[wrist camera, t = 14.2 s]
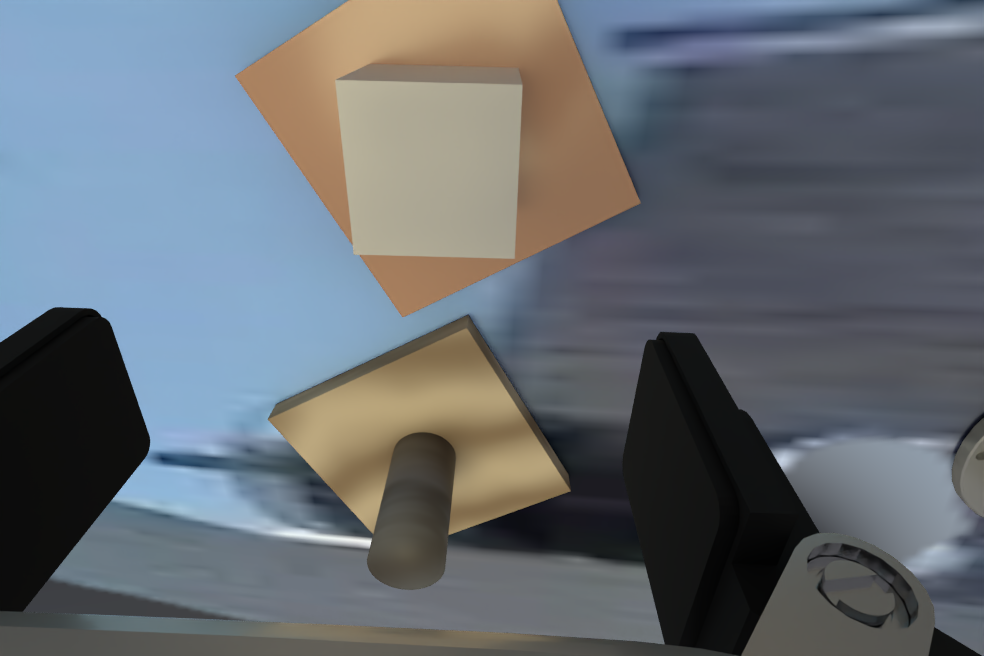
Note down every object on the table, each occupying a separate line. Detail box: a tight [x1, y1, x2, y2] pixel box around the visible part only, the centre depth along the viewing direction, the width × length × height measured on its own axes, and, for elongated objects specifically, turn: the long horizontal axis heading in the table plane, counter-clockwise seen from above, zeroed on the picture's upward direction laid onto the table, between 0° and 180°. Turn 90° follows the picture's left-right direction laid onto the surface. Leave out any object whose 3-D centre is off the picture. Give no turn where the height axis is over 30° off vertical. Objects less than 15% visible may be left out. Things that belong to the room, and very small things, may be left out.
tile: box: [235, 0, 640, 317], centre depth 27 cm, size 14×14×1 cm
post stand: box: [268, 315, 571, 590], centre depth 33 cm, size 14×14×10 cm
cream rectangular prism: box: [335, 64, 523, 259], centre depth 24 cm, size 7×7×6 cm
